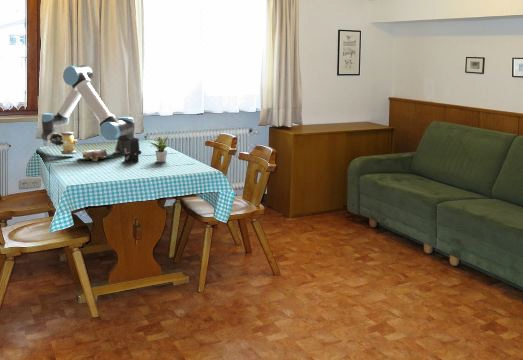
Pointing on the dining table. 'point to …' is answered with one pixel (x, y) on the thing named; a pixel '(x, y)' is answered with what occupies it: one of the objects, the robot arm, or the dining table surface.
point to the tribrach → (94, 154)
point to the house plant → (160, 149)
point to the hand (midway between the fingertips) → (71, 142)
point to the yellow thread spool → (68, 143)
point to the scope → (133, 151)
